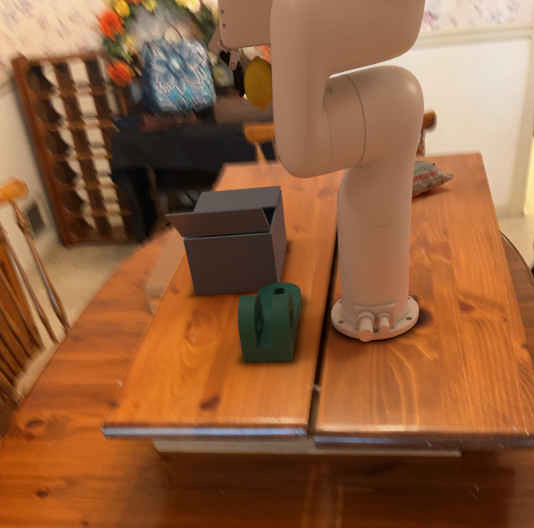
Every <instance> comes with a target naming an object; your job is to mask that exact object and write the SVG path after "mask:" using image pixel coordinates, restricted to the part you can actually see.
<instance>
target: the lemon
mask: <svg viewBox="0 0 534 528" xmlns="http://www.w3.org/2000/svg"><path fill="white" fill-rule="evenodd" d="M243 72H244V75H243V86H244V91H245V95H244V96H245V97H246V99H247V101H248V102H249V103H250V104H251V105H252V106H254V107H256V108H258V109H259V110H260V111H262V112H263V111H266V109H267V107H268V106H269V105H271V104H272V103H273V93H272V66H271V62H269V61H268V60H267V59H265V58H262V57H260V56H259V55H255V56H254V57H253V59H252V60H250V61H249V62H248V63H247V64H246V66H245V68H244V69H243Z"/></svg>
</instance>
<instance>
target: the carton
mask: <svg viewBox="0 0 534 528" xmlns="http://www.w3.org/2000/svg"><path fill="white" fill-rule="evenodd" d="M281 186H282V185H271V186H260V187H249V188H238V189H237V188H236V189H226V190H225V189H224V190H213V191H201V193H200V195H199V197H198V199H197V201H196V203H195V206H194V208H193V211H192V212H199V211H211V210H223V209H236V208H248V207H260V206H261V207H262V209H263V212H264V214H265V216H266V219H267V221H268V224H269V226H270V229H271V231H262V232H248V233H235V234H222V235H209V236H196V237H183V240H182V243H183V246H184V250H185V255H186V259H187V264H188V269H189V272H190V278H191V282H192V287H193V290H194V294H195V296H203V295H207V296H208V295H220V294H237V293H255V292H257V293H258V291H259V290H260V289H261V288H263V287H265V286H267V285H269V284H273V283H278V282H281V279H282V272H283V266H284V261H285V256H286V251H287V246H288V240H287V238H288V237H287V229H286V220H285V219H286V218H285V211H284V201H283V191H282V189H281Z"/></svg>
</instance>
